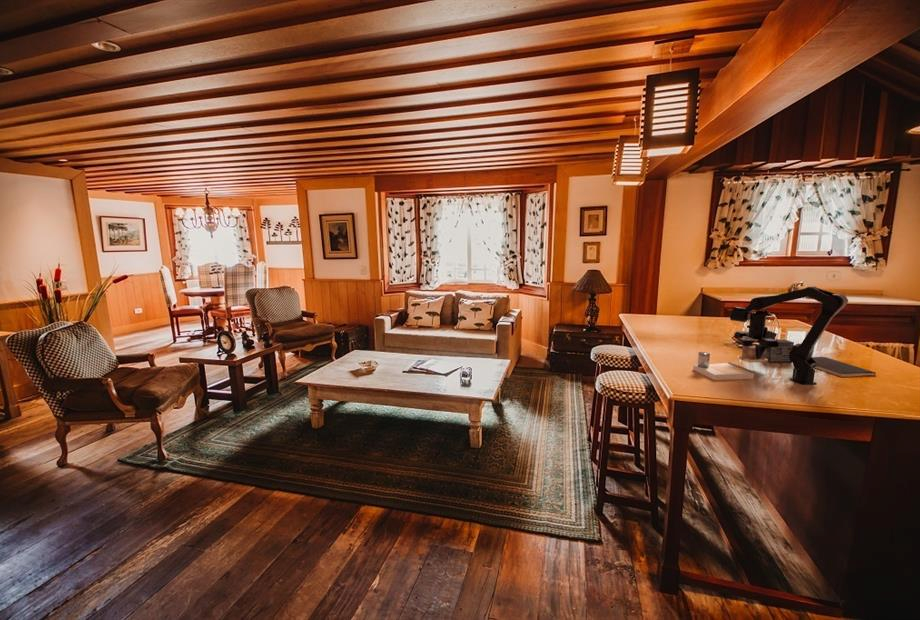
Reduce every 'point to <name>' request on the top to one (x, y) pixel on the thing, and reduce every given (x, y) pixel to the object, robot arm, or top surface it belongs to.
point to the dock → (725, 371)
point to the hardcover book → (840, 367)
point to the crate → (752, 355)
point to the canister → (703, 359)
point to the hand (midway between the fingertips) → (753, 356)
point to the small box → (779, 352)
